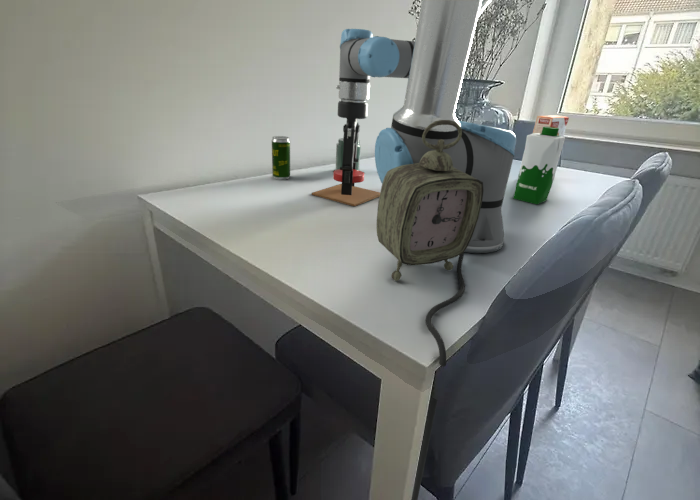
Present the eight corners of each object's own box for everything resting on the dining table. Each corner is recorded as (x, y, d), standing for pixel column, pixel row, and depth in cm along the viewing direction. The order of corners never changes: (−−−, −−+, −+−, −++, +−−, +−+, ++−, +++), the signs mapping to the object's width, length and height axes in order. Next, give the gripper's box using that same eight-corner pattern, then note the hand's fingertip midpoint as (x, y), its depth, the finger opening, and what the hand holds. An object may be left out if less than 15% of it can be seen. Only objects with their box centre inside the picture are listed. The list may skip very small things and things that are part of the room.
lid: (340, 184, 100) (341, 177, 99) (328, 176, 106) (328, 169, 105) (369, 182, 103) (369, 175, 102) (355, 174, 110) (355, 168, 109)
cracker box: (537, 180, 135) (553, 117, 127) (520, 176, 139) (535, 115, 131) (553, 175, 144) (570, 116, 135) (537, 172, 148) (552, 114, 139)
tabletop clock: (390, 288, 61) (420, 127, 49) (364, 260, 68) (384, 112, 56) (462, 274, 67) (504, 126, 55) (431, 249, 74) (463, 113, 62)
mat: (354, 206, 98) (354, 204, 97) (311, 194, 105) (311, 192, 104) (382, 195, 108) (383, 193, 108) (342, 185, 115) (342, 183, 115)
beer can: (283, 174, 123) (283, 135, 118) (293, 178, 119) (293, 138, 114) (269, 176, 119) (267, 136, 114) (278, 180, 116) (278, 139, 111)
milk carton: (550, 200, 113) (571, 129, 105) (539, 206, 107) (559, 131, 99) (521, 193, 119) (538, 125, 110) (508, 198, 113) (525, 126, 104)
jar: (350, 175, 126) (351, 142, 122) (330, 171, 130) (331, 139, 126) (363, 172, 132) (365, 140, 128) (344, 167, 136) (346, 137, 132)
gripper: (342, 97, 106) (338, 179, 116) (332, 102, 87) (329, 200, 97) (370, 99, 106) (364, 181, 115) (366, 105, 87) (359, 202, 96)
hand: (348, 189), depth 106 cm, fingers closed on lid, 8 cm apart
